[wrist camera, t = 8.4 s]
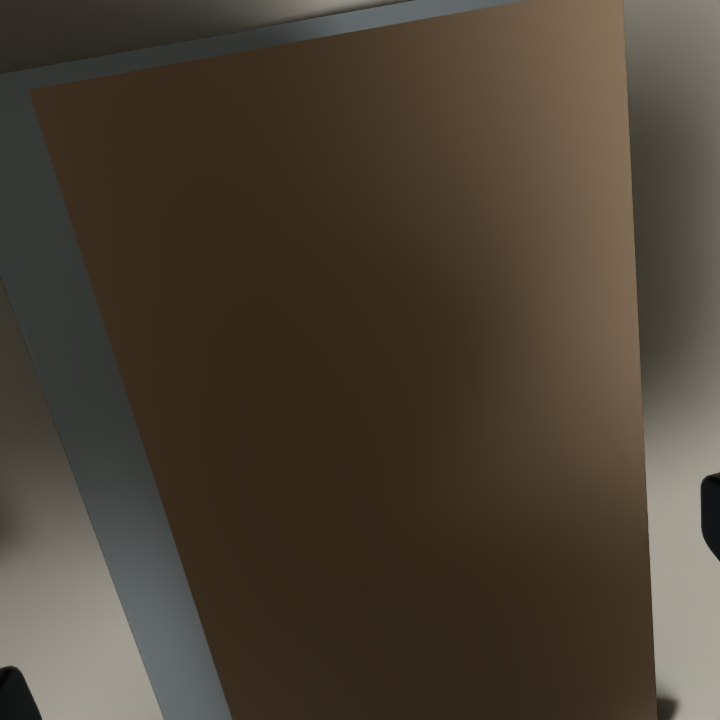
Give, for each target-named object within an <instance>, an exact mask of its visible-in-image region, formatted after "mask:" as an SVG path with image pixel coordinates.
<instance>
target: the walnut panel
mask: <svg viewBox="0 0 720 720" xmlns="http://www.w3.org/2000/svg"><path fill="white" fill-rule="evenodd" d="M28 91H29V94H30V97H31V100H32V103H33V106H34V109H35V112H36V116H37V119H38V122H39V125H40V128H41V131H42V134H43V137H44V140H45V143H46V146H47V149H48V153H49V156H50V159H51V162H52V165H53V168H54V171H55V174H56V177H57V180H58V183H59V187H60V190H61V193H62V196H63V199H64V202H65V205H66V208H67V211H68V214H69V217H70V220H71V224H72V227H73V230H74V233H75V236H76V239H77V242H78V245H79V248H80V251H81V254H82V257H83V261H84V264H85V267H86V270H87V273H88V276H89V279H90V282H91V285H92V288H93V291H94V295H95V298H96V301H97V304H98V307H99V310H100V313H101V316H102V319H103V322H104V325H105V328H106V332H107V335H108V338H109V341H110V344H111V347H112V350H113V353H114V356H115V359H116V362H117V365H118V369H119V372H120V375H121V378H122V381H123V384H124V387H125V390H126V393H127V396H128V399H129V403H130V406H131V409H132V412H133V415H134V418H135V421H136V424H137V427H138V430H139V433H140V436H141V440H142V443H143V446H144V449H145V452H146V455H147V458H148V461H149V464H150V467H151V470H152V473H153V477H154V480H155V483H156V486H157V489H158V492H159V495H160V498H161V501H162V504H163V507H164V510H165V514H166V517H167V520H168V523H169V526H170V529H171V532H172V535H173V538H174V541H175V544H176V548H177V551H178V554H179V557H180V560H181V563H182V566H183V569H184V572H185V575H186V578H187V581H188V585H189V588H190V591H191V594H192V597H193V600H194V603H195V606H196V609H197V612H198V615H199V618H200V622H201V625H202V628H203V631H204V634H205V637H206V640H207V643H208V646H209V649H210V652H211V656H212V659H213V662H214V665H215V668H216V671H217V674H218V677H219V680H220V683H221V686H222V689H223V693H224V696H225V699H226V702H227V705H228V708H229V711H230V714H231V717H232V720H657V702H656V681H655V660H654V639H653V618H652V597H651V576H650V555H649V534H648V513H647V493H646V472H645V451H644V430H643V409H642V388H641V367H640V346H639V325H638V304H637V283H636V262H635V241H634V220H633V200H632V179H631V158H630V137H629V116H628V95H627V74H626V53H625V32H624V11H623V0H527V1H521V2H516V3H510V4H505V5H499V6H493V7H488V8H482V9H477V10H471V11H465V12H460V13H454V14H449V15H443V16H438V17H432V18H426V19H421V20H415V21H410V22H404V23H399V24H393V25H387V26H382V27H376V28H371V29H365V30H359V31H354V32H348V33H343V34H337V35H332V36H326V37H320V38H315V39H309V40H304V41H298V42H293V43H287V44H281V45H276V46H270V47H265V48H259V49H253V50H248V51H242V52H237V53H231V54H226V55H220V56H214V57H209V58H203V59H198V60H192V61H186V62H181V63H175V64H170V65H164V66H159V67H153V68H147V69H142V70H136V71H131V72H125V73H120V74H114V75H108V76H103V77H97V78H92V79H86V80H80V81H75V82H69V83H64V84H58V85H53V86H47V87H41V88H36V89H30V90H28Z"/></svg>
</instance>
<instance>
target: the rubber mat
mask: <svg viewBox="0 0 720 720" xmlns="http://www.w3.org/2000/svg"><path fill="white" fill-rule="evenodd" d="M521 1H527V0H414V1H408V2H402V3H397V4H391V5H386V6H380V7H374V8H369V9H363V10H357V11H352V12H346V13H340V14H335V15H329V16H323V17H318V18H312V19H306V20H301V21H295V22H290V23H284V24H278V25H273V26H267V27H261V28H256V29H250V30H244V31H239V32H233V33H227V34H222V35H216V36H210V37H205V38H199V39H194V40H188V41H182V42H177V43H171V44H165V45H160V46H154V47H148V48H143V49H137V50H131V51H126V52H120V53H115V54H109V55H103V56H98V57H92V58H86V59H81V60H75V61H69V62H64V63H58V64H52V65H47V66H41V67H35V68H30V69H24V70H19V71H13V72H7V73H2V74H0V277H1V280H2V282H3V285H4V288H5V291H6V293H7V296H8V299H9V301H10V304H11V307H12V310H13V312H14V315H15V318H16V320H17V323H18V326H19V328H20V331H21V334H22V337H23V339H24V342H25V345H26V347H27V350H28V353H29V355H30V358H31V361H32V364H33V366H34V369H35V372H36V374H37V377H38V380H39V382H40V385H41V388H42V391H43V393H44V396H45V399H46V401H47V404H48V407H49V410H50V412H51V415H52V418H53V420H54V423H55V426H56V428H57V431H58V434H59V437H60V439H61V442H62V445H63V447H64V450H65V453H66V455H67V458H68V461H69V464H70V466H71V469H72V472H73V474H74V477H75V480H76V482H77V485H78V488H79V491H80V493H81V496H82V499H83V501H84V504H85V507H86V510H87V512H88V515H89V518H90V520H91V523H92V526H93V528H94V531H95V534H96V537H97V539H98V542H99V545H100V547H101V550H102V553H103V555H104V558H105V561H106V564H107V566H108V569H109V572H110V574H111V577H112V580H113V582H114V585H115V588H116V591H117V593H118V596H119V599H120V601H121V604H122V607H123V609H124V612H125V615H126V618H127V620H128V623H129V626H130V628H131V631H132V634H133V637H134V639H135V642H136V645H137V647H138V650H139V653H140V655H141V658H142V661H143V664H144V666H145V669H146V672H147V674H148V677H149V680H150V682H151V685H152V688H153V691H154V693H155V696H156V699H157V701H158V704H159V707H160V709H161V712H162V715H163V718H164V720H232V717H231V714H230V711H229V708H228V705H227V702H226V699H225V696H224V693H223V689H222V686H221V683H220V680H219V677H218V674H217V671H216V668H215V665H214V662H213V659H212V656H211V652H210V649H209V646H208V643H207V640H206V637H205V634H204V631H203V628H202V625H201V622H200V618H199V615H198V612H197V609H196V606H195V603H194V600H193V597H192V594H191V591H190V588H189V585H188V581H187V578H186V575H185V572H184V569H183V566H182V563H181V560H180V557H179V554H178V551H177V548H176V544H175V541H174V538H173V535H172V532H171V529H170V526H169V523H168V520H167V517H166V514H165V510H164V507H163V504H162V501H161V498H160V495H159V492H158V489H157V486H156V483H155V480H154V477H153V473H152V470H151V467H150V464H149V461H148V458H147V455H146V452H145V449H144V446H143V443H142V440H141V436H140V433H139V430H138V427H137V424H136V421H135V418H134V415H133V412H132V409H131V406H130V403H129V399H128V396H127V393H126V390H125V387H124V384H123V381H122V378H121V375H120V372H119V369H118V365H117V362H116V359H115V356H114V353H113V350H112V347H111V344H110V341H109V338H108V335H107V332H106V328H105V325H104V322H103V319H102V316H101V313H100V310H99V307H98V304H97V301H96V298H95V295H94V291H93V288H92V285H91V282H90V279H89V276H88V273H87V270H86V267H85V264H84V261H83V257H82V254H81V251H80V248H79V245H78V242H77V239H76V236H75V233H74V230H73V227H72V224H71V220H70V217H69V214H68V211H67V208H66V205H65V202H64V199H63V196H62V193H61V190H60V187H59V183H58V180H57V177H56V174H55V171H54V168H53V165H52V162H51V159H50V156H49V153H48V149H47V146H46V143H45V140H44V137H43V134H42V131H41V128H40V125H39V122H38V119H37V116H36V112H35V109H34V106H33V103H32V100H31V97H30V94H29V91H28V90H30V89H36V88H41V87H47V86H53V85H58V84H64V83H69V82H75V81H80V80H86V79H92V78H97V77H103V76H108V75H114V74H120V73H125V72H131V71H136V70H142V69H147V68H153V67H159V66H164V65H170V64H175V63H181V62H186V61H192V60H198V59H203V58H209V57H214V56H220V55H226V54H231V53H237V52H242V51H248V50H253V49H259V48H265V47H270V46H276V45H281V44H287V43H293V42H298V41H304V40H309V39H315V38H320V37H326V36H332V35H337V34H343V33H348V32H354V31H359V30H365V29H371V28H376V27H382V26H387V25H393V24H399V23H404V22H410V21H415V20H421V19H426V18H432V17H438V16H443V15H449V14H454V13H460V12H465V11H471V10H477V9H482V8H488V7H493V6H499V5H505V4H510V3H516V2H521Z"/></svg>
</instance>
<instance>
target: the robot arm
mask: <svg viewBox="0 0 720 720" xmlns="http://www.w3.org/2000/svg"><path fill="white" fill-rule="evenodd" d="M701 529H702V534H703V537H704V540H705V542H706V544H707V545H708V547H709V548H710V550H711V551H712V552H713V554H714V555H715V556H716V557H717V559H718V560H719V561H720V472H719V473H716V474H712V475H708V476H706V477H705V478H704V479H703V480H702V483H701ZM0 720H42V717H41V714H40V712H39V710H38V707H37V705H36V703H35V701H34V699H33V696H32V694H31V692H30V690H29V687H28V685H27V683H26V681H25V679H24V676H23V674H22V673H21V671H20V670H19V669H18V668H17V667H14V666H7V667H3V668H0Z"/></svg>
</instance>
